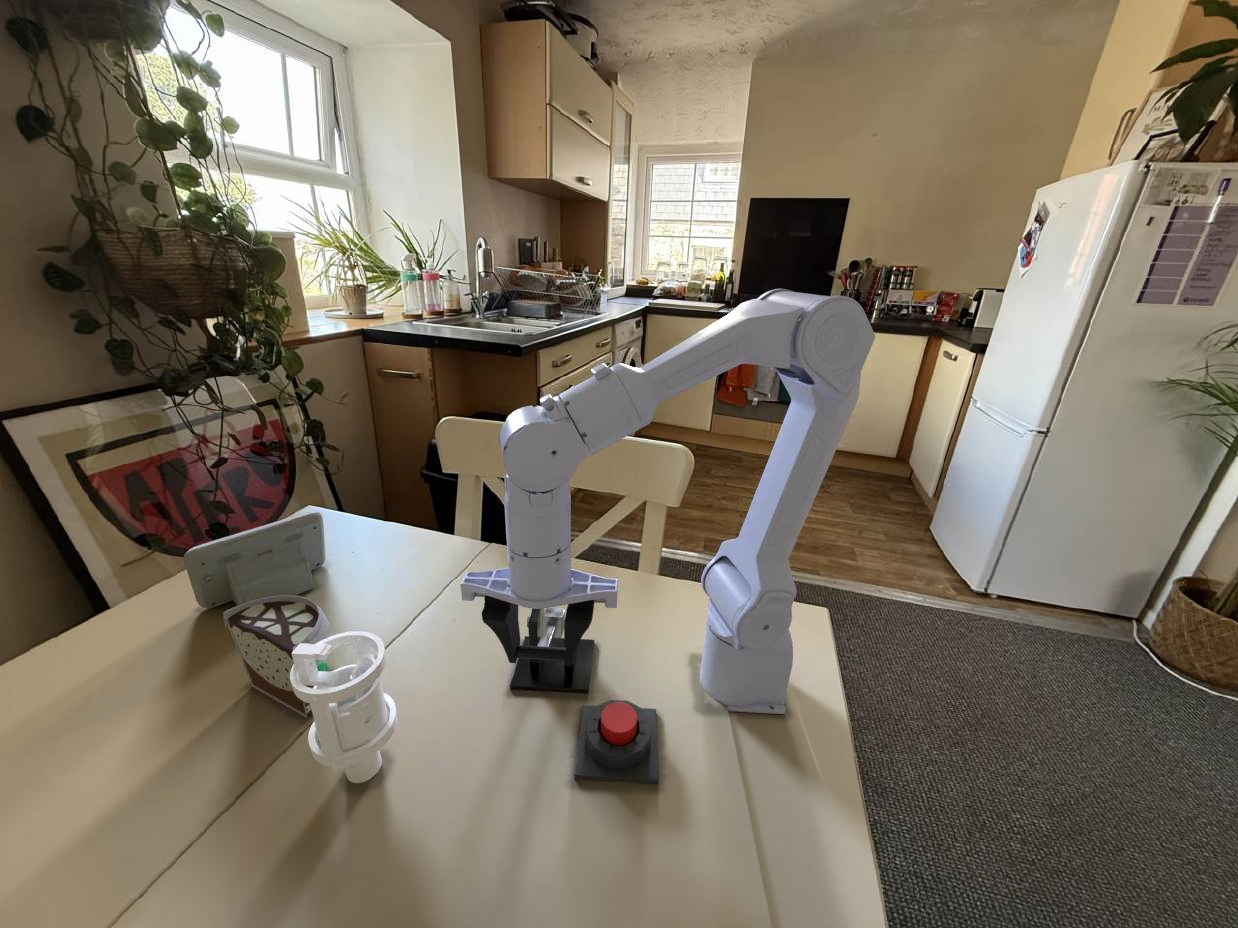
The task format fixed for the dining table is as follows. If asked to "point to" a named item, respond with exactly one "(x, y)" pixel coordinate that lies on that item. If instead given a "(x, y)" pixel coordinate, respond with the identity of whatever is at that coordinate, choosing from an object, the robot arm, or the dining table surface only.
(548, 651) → the switch
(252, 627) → the chocolate cake slice
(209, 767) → the dining table surface
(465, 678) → the dining table surface
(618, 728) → the button
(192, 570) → the digital clock
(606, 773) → the control block
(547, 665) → the switch bracket
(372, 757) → the white plastic cylinder
